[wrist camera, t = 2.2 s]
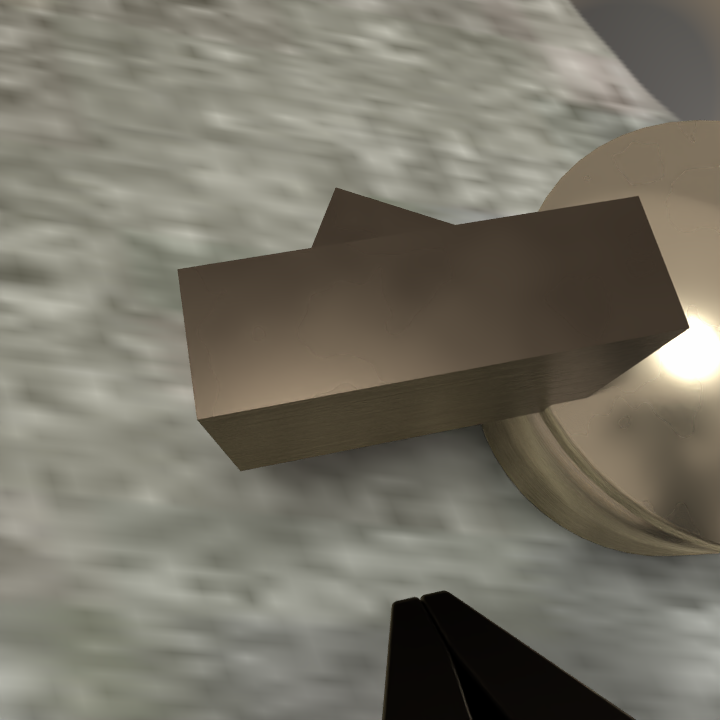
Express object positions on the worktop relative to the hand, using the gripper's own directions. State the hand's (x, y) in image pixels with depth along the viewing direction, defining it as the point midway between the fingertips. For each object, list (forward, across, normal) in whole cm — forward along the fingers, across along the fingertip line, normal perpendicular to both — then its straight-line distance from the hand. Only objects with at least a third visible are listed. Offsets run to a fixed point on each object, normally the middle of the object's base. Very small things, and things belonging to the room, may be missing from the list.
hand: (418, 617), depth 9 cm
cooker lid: (+9, +8, -1) cm, 12 cm away
